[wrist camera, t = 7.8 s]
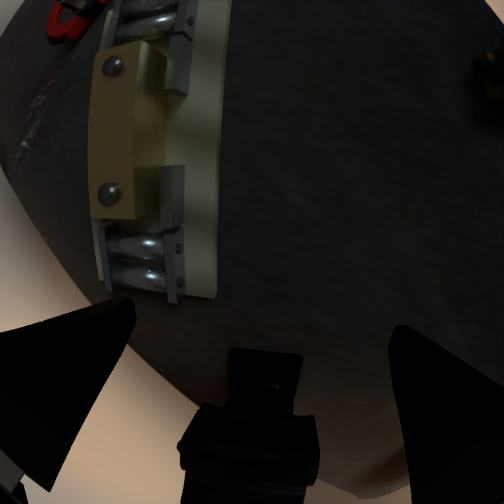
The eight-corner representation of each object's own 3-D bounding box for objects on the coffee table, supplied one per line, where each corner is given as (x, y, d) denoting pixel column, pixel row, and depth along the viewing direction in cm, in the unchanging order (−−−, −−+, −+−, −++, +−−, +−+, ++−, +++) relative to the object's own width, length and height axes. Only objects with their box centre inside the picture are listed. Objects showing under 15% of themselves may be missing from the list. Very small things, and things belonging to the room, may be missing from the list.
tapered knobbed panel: (166, 205, 19) (131, 221, 15) (126, 204, 20) (87, 219, 15) (171, 59, 15) (138, 37, 11) (130, 67, 16) (92, 52, 11)
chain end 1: (126, 6, 14) (113, -3, 12) (202, -11, 13) (193, -25, 11) (110, 105, 17) (92, 102, 15) (189, 95, 16) (177, 88, 14)
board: (216, 292, 22) (213, 298, 21) (105, 275, 23) (99, 280, 22) (232, -10, 14) (230, -16, 13) (114, 14, 15) (108, 11, 14)
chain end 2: (187, 291, 21) (177, 306, 19) (116, 280, 22) (102, 292, 20) (186, 164, 18) (173, 165, 16) (108, 166, 19) (90, 169, 17)
